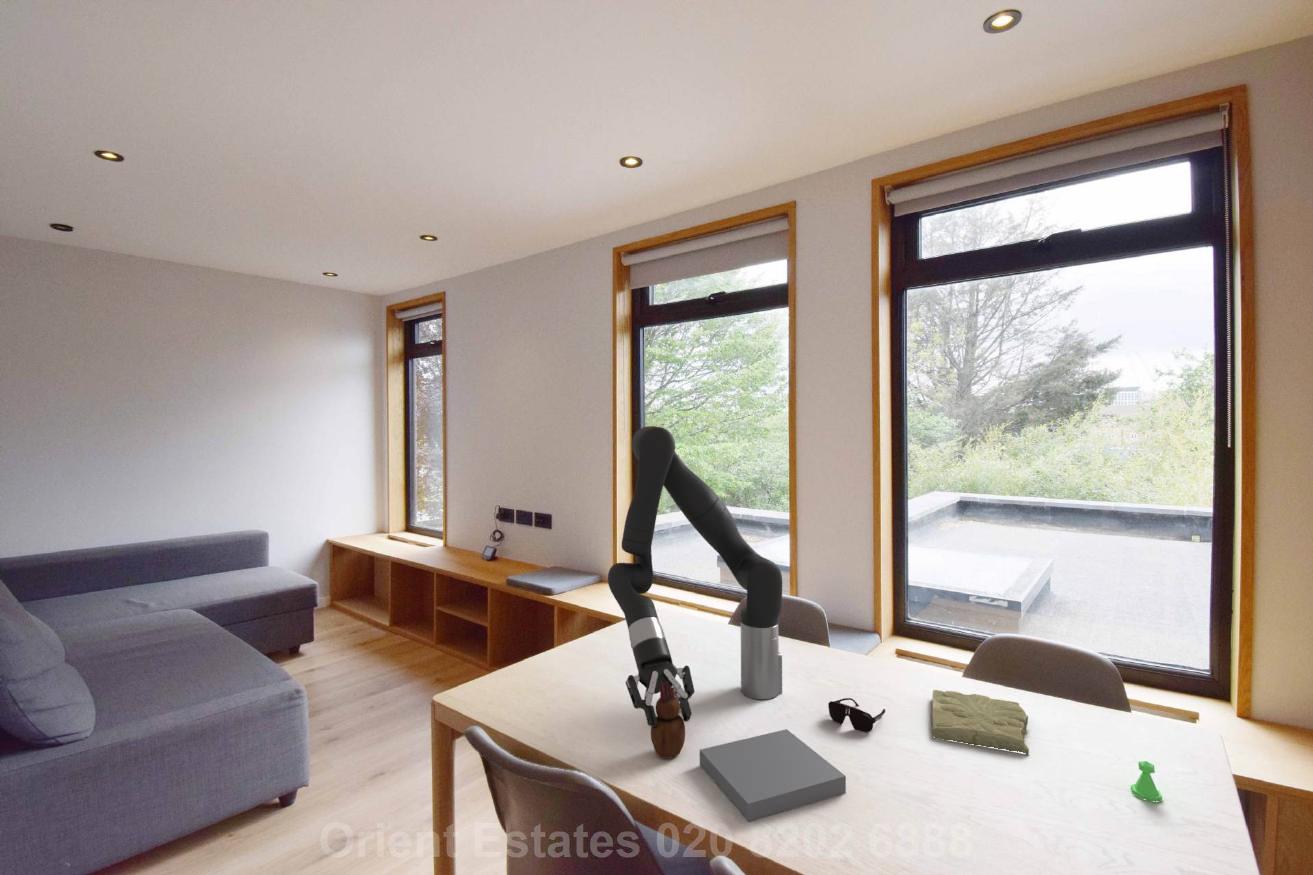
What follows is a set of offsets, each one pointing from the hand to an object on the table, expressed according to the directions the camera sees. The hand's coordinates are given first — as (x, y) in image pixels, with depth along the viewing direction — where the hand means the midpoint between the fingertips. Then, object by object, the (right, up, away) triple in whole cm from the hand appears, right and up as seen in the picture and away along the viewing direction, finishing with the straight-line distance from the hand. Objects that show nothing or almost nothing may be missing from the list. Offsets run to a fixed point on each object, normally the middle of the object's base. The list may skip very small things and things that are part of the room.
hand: (671, 723), depth 116 cm
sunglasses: (+42, -7, +16) cm, 46 cm away
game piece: (+83, -7, -13) cm, 84 cm away
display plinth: (+18, -7, -7) cm, 21 cm away
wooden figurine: (-1, -7, +2) cm, 7 cm away
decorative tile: (+67, -7, +12) cm, 69 cm away
